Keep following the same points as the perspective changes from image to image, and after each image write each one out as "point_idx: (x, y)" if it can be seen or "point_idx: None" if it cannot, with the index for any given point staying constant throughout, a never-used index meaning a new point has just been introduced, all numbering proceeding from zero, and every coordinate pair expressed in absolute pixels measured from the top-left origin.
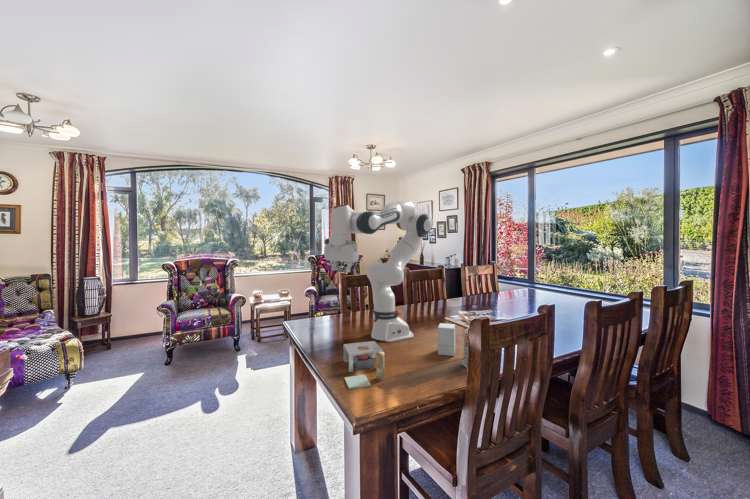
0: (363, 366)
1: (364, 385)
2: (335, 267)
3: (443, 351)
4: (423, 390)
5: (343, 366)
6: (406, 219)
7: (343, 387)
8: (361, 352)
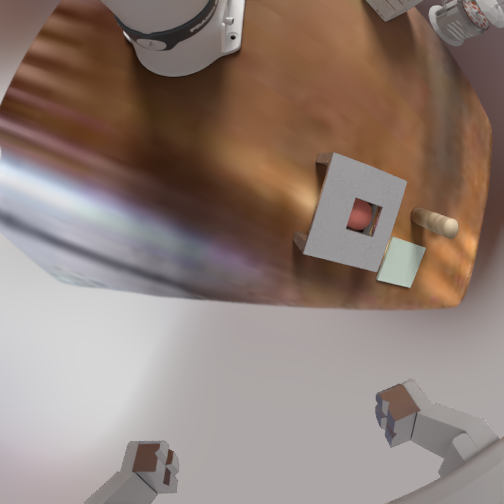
0: None
1: (420, 259)
2: (165, 475)
3: (397, 15)
4: (475, 179)
5: None
6: None
7: (398, 292)
8: (385, 238)
